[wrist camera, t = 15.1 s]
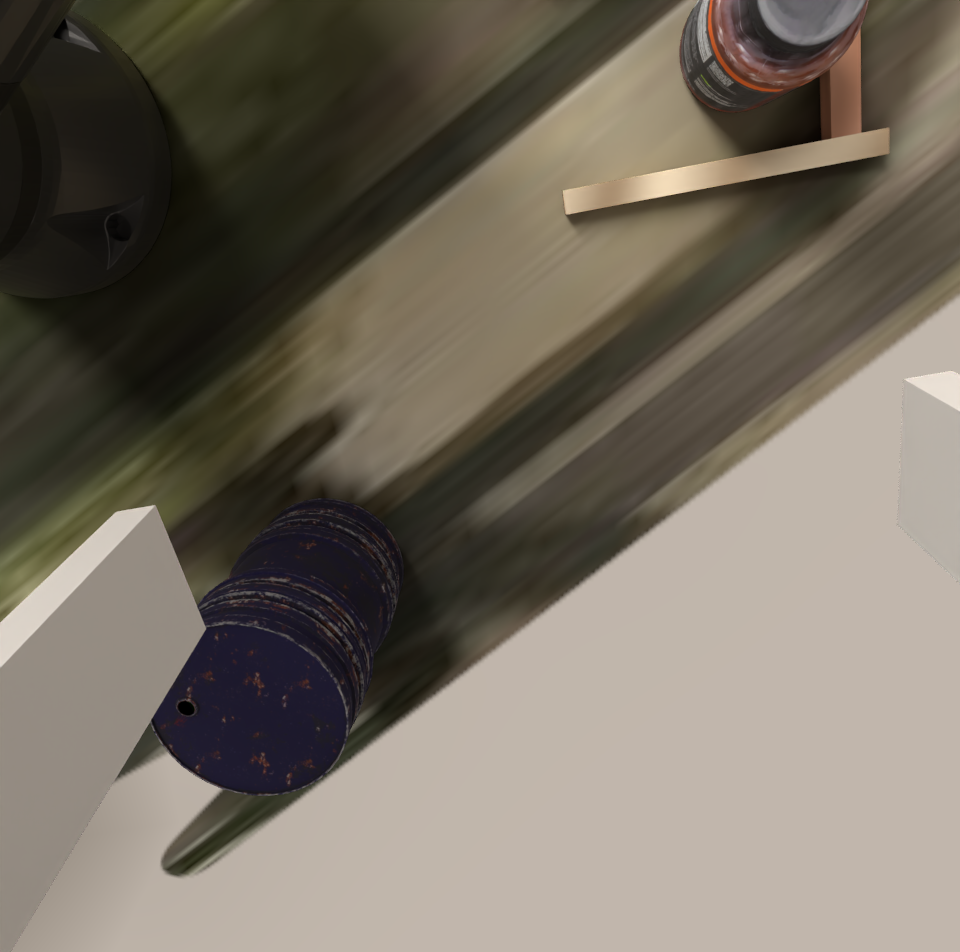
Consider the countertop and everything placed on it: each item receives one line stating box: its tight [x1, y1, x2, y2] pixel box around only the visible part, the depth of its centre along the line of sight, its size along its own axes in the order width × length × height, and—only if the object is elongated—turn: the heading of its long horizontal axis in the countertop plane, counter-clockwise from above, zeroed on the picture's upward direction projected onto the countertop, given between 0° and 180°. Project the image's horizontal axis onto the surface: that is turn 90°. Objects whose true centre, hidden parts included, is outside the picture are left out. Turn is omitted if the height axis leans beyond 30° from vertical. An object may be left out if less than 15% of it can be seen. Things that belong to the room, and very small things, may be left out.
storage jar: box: [150, 498, 404, 796], centre depth 41 cm, size 10×10×15 cm
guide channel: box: [562, 30, 889, 215], centre depth 36 cm, size 16×12×1 cm
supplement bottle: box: [680, 0, 868, 112], centre depth 31 cm, size 6×6×11 cm
